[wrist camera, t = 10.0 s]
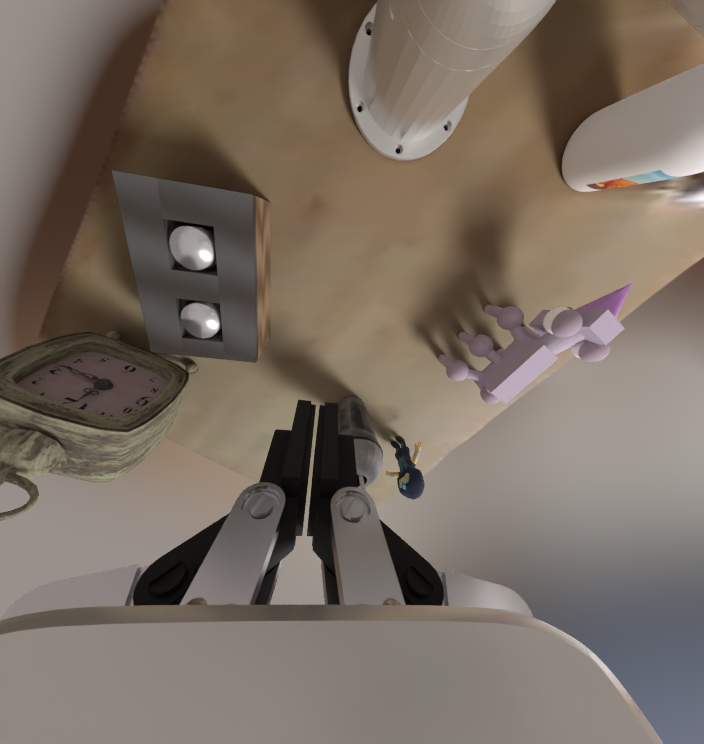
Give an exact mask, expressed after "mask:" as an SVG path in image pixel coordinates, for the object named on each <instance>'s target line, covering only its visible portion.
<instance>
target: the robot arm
mask: <svg viewBox="0 0 704 744" xmlns="http://www.w3.org/2000/svg"><path fill="white" fill-rule="evenodd" d="M666 1H667V2H668V3H669V4H670V5H671V6H672V7H673V8H674V9H675V10H676V11H677V12H678V13H679V14H680V15H681V16H682V17H683V18H684V19H685V20H686V21H687V22H688V23H689V24H690V25H692V26H693V27H694V28H695V29H696V30H697V31H698V32H699V33H700V34H701V35H702V36H703V37H704V0H666ZM555 2H556V0H378V1H377V3H376V4H375V5H374V6H373V7H372V9H371V10H370V11H369V13H368V14H367V15H366V17H365V18H364V21H363V23H362V25H361V27H360V29H359V31H358V33H357V36H356V39H355V42H354V45H353V48H352V53H351V59H350V65H349V76H348V85H349V98H350V104H351V110H352V113H353V116H354V119H355V122H356V124H357V126H358V128H359V130H360V132H361V134H362V136H363V137H364V138H365V140H366V141H367V142H368V144H369V145H370V146H371V147H372V148H374V149H375V150H376V151H377V152H378V153H380V154H382V155H383V156H385V157H387V158H390V159H393V160H397V161H411V160H415V159H419V158H421V157H424V156H426V155H428V154H430V153H431V152H432V151H434V150H435V149H437V148H438V147H439V146H440V145H441V144H442V143H443V142H444V141H446V139H447V138H448V137H449V136H450V135H451V133H452V132H453V131H454V129H455V128H456V126H457V124H458V122H459V121H460V119H461V117H462V115H463V112H464V110H465V107H466V105H467V102H468V98H469V95H470V94H471V93H472V92H473V91H474V90H475V89H476V87H477V86H478V85H479V84H480V83H481V82H482V81H483V80H484V79H485V78H486V77H487V76H488V75H489V74H490V73H491V72H492V71H493V70H494V69H495V68H496V67H497V66H498V65H499V64H500V63H501V62H502V61H503V60H504V59H505V58H506V57H507V56H508V55H509V54H510V53H511V52H512V51H513V50H514V49H515V48H516V47H517V46H518V45H519V44H520V43H521V42H522V41H523V40H524V39H525V37H526V36H527V35H528V34H529V33H530V32H531V31H532V30H533V29H534V28H535V27H536V26H537V25H538V23H539V22H540V21H541V20H542V19H543V17H544V16H545V15H546V14H547V13H548V11H549V10H550V9H551V7H552V6H553V4H554V3H555ZM368 31H369V32H370V33H371V35H367V34H366V32H368ZM358 107H361V109H362V111H361V112H358V110H357V108H358ZM444 126H446V127H447V130H446V131H445V130H444ZM396 149H399V151H400V152H399V154H397V153H396ZM315 408H316V405H312V404H311V401H305V400H298V403H297V408H296V413H295V417H294V422H293V426H292V431H290V430H275V432H274V436H273V439H272V442H271V446H270V449H269V452H268V455H267V459H266V462H265V465H264V469H263V472H262V475H261V479H260V482H259V483H256V484H254V485H252V486H250V487H248V488H246V489H245V490H244V491H243V492H242V493H241V494H240V496H239V497H238V499H237V500H236V502H235V504H234V506H233V508H232V510H231V512H230V513H229V514H227V515H226V516H224V517H223V518H221V519H220V520H218V521H217V522H215V523H213V524H212V525H210V526H209V527H207V528H206V529H204V530H202V531H201V532H199V533H198V534H196V535H195V536H193V537H192V538H190V539H189V540H187V541H185V542H184V543H182V544H181V545H179V546H177V547H176V548H174V549H173V550H171V551H170V552H168V553H167V554H165V555H163V556H162V557H160V558H159V559H158V560H156V561H155V562H154V563H153V564H151V565H150V566H146V567H141V568H140V566H139V565H138V564H137V565H133V566H128V567H123V568H118V569H113V570H108V571H103V572H98V573H94V574H89V575H84V576H79V577H74V578H69V579H64V580H59V581H55V582H51V583H48V584H45V585H42V586H39V587H37V588H35V589H34V590H32V591H30V592H29V593H27V594H25V595H24V596H22V597H21V598H20V599H19V600H17V601H16V602H15V603H14V604H13V605H11V606H10V607H9V608H8V609H7V611H6V612H5V613H4V614H3V615H2V617H1V618H0V744H663V742H662V741H661V739H660V738H659V736H658V735H657V733H656V732H655V730H654V729H653V728H652V726H651V725H650V723H649V722H648V720H647V719H646V717H645V716H644V715H643V713H642V712H641V711H640V709H639V708H638V706H637V705H636V703H635V702H634V701H633V699H632V698H631V696H630V695H629V693H628V692H627V691H626V690H625V688H624V687H623V686H622V684H621V683H620V682H619V680H618V679H617V678H616V677H615V676H614V674H613V673H612V672H611V671H610V670H609V668H608V667H607V666H606V665H605V664H604V663H603V662H602V661H601V660H600V659H599V658H598V657H597V656H596V655H595V654H594V653H593V652H592V651H590V650H589V649H588V648H587V647H586V646H584V645H583V644H582V643H580V642H579V641H577V640H576V639H574V638H573V637H571V636H569V635H568V634H566V633H564V632H563V631H561V630H559V629H557V628H555V627H553V626H551V625H549V624H547V623H545V622H543V621H540V620H538V619H535V618H534V617H533V615H532V613H531V611H530V609H529V607H528V606H527V604H526V603H525V602H524V600H523V599H522V598H521V597H520V596H519V595H517V594H516V593H515V592H514V591H513V590H511V589H509V588H507V587H505V586H501V585H498V584H494V583H491V582H487V581H484V580H480V579H476V578H473V577H470V576H466V575H463V574H459V573H456V572H452V571H448V570H444V571H443V572H440V571H436V570H435V569H434V568H433V567H432V566H431V564H430V563H429V562H427V561H426V560H425V559H424V558H423V557H421V556H420V555H419V554H418V553H417V552H416V551H415V550H414V549H413V548H412V547H410V546H409V545H408V544H407V543H406V542H405V541H404V540H402V539H401V538H400V537H399V536H398V535H397V534H396V533H394V532H393V531H392V530H391V529H390V528H389V527H388V526H387V525H385V524H384V523H383V522H382V521H381V520H380V519H379V516H378V513H377V510H376V507H375V503H374V501H373V499H372V498H371V496H370V495H369V494H368V493H367V492H365V491H364V490H362V489H360V488H358V481H357V469H356V458H355V447H354V437H353V435H343V434H338V403H328V402H325V406H323V405H320V408H319V418H318V427H317V436H316V445H315V454H314V465H313V476H312V487H311V497H310V508H309V519H308V530H307V536H313V541H312V546H313V551H314V552H315V553H316V554H317V555H318V557H319V558H320V559H321V569H322V580H323V591H324V601H325V605H270V602H271V599H272V595H273V592H274V589H275V585H276V582H277V579H278V575H279V572H280V569H281V565H282V559H283V558H284V557H286V556H287V555H288V554H289V553H290V552H291V551H292V550H293V549H294V546H295V540H296V536H302V531H303V522H304V513H305V504H306V494H307V485H308V476H309V467H310V457H311V448H312V438H313V428H314V418H315Z"/></svg>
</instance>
